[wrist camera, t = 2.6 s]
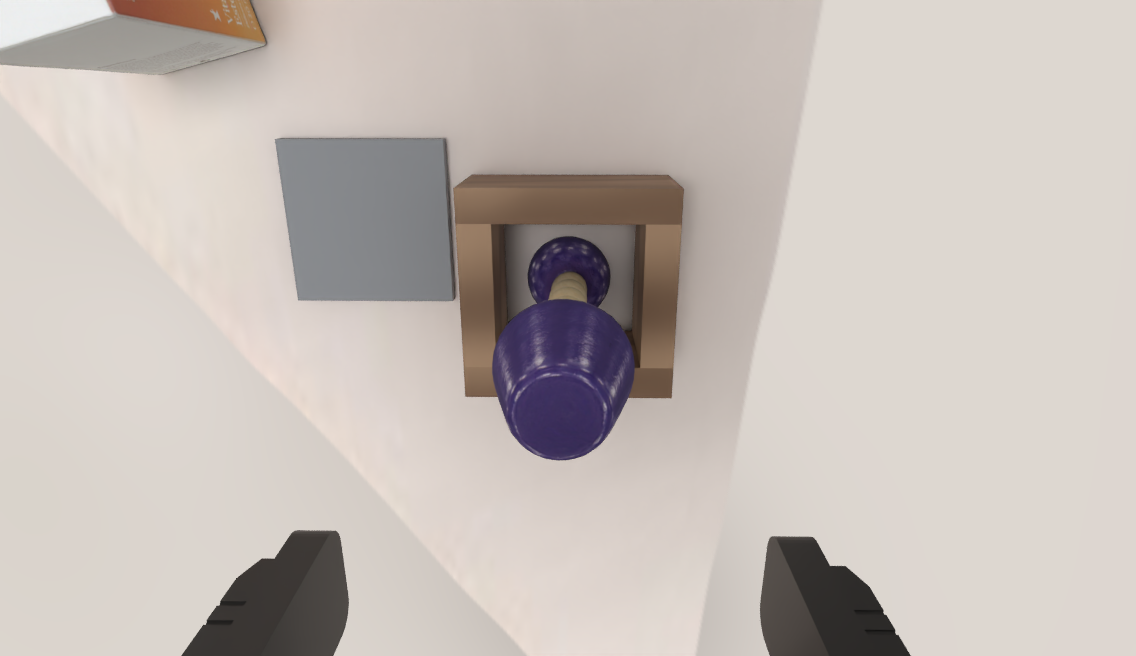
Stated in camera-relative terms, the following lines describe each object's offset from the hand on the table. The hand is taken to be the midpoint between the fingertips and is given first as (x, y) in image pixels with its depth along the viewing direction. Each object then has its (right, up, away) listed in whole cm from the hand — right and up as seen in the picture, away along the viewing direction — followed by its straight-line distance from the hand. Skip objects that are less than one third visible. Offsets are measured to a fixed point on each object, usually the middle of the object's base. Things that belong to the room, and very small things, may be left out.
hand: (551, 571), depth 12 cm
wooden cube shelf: (0, +7, +21) cm, 23 cm away
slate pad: (-10, +10, +21) cm, 25 cm away
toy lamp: (0, +8, +22) cm, 23 cm away
